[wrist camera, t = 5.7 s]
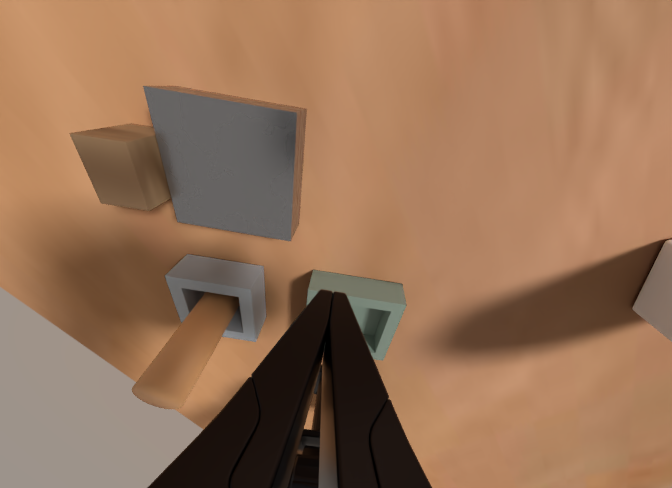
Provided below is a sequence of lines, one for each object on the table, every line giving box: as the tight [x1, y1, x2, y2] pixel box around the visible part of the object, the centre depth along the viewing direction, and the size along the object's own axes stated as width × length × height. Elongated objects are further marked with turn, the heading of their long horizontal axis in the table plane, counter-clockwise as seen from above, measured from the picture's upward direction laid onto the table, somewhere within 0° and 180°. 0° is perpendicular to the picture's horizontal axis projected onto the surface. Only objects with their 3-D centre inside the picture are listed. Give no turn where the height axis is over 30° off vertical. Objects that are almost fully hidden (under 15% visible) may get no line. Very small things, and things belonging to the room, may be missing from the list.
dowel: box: [132, 292, 240, 409], centre depth 19 cm, size 3×3×10 cm
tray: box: [307, 270, 406, 360], centre depth 22 cm, size 8×8×2 cm
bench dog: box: [69, 124, 171, 211], centre depth 15 cm, size 4×3×4 cm
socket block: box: [165, 254, 266, 342], centre depth 22 cm, size 7×7×3 cm
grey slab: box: [143, 86, 307, 241], centre depth 16 cm, size 8×8×3 cm
